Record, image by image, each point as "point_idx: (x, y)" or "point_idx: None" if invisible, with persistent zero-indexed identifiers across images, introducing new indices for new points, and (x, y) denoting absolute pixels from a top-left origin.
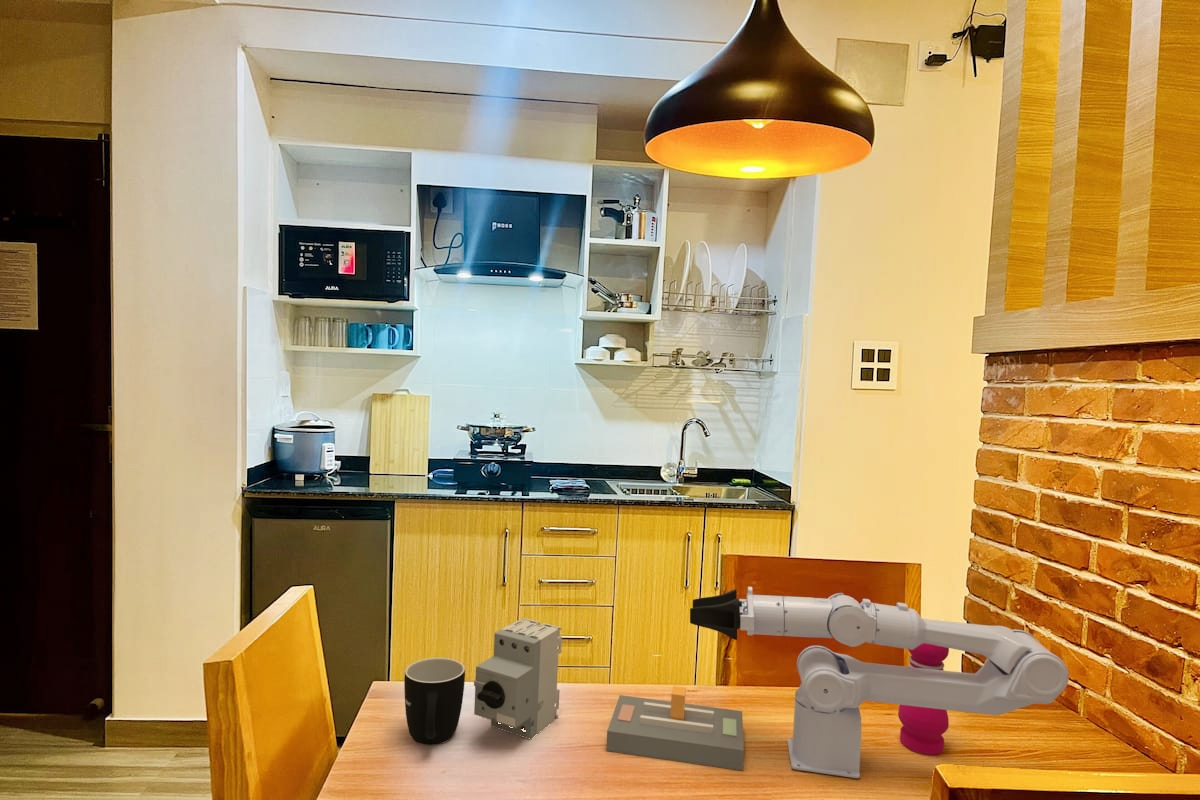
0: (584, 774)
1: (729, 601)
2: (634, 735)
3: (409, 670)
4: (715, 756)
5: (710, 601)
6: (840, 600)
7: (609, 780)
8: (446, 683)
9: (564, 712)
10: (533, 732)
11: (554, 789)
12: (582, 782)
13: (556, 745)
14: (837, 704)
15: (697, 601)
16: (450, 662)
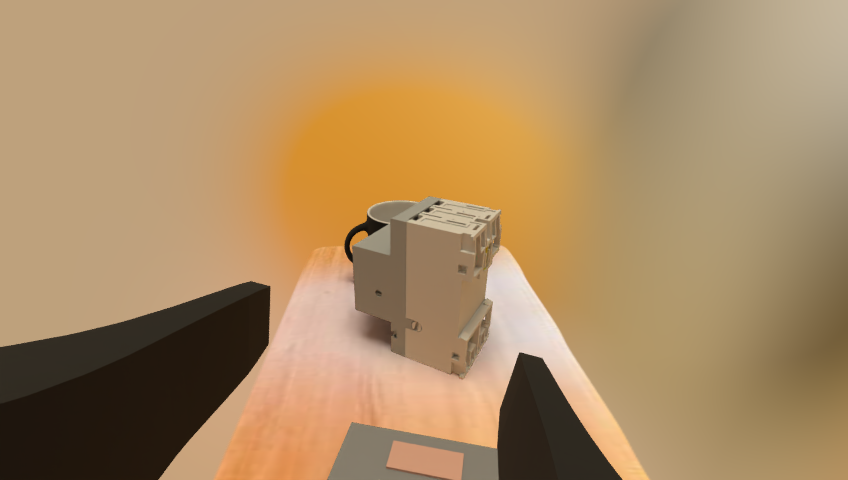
0: (285, 415)
1: (15, 397)
2: (329, 475)
3: (406, 205)
4: None
5: (531, 443)
6: None
7: (255, 452)
8: (370, 220)
9: (483, 386)
10: (396, 346)
11: (258, 380)
12: (263, 413)
13: (375, 379)
14: None
15: (517, 374)
16: None
